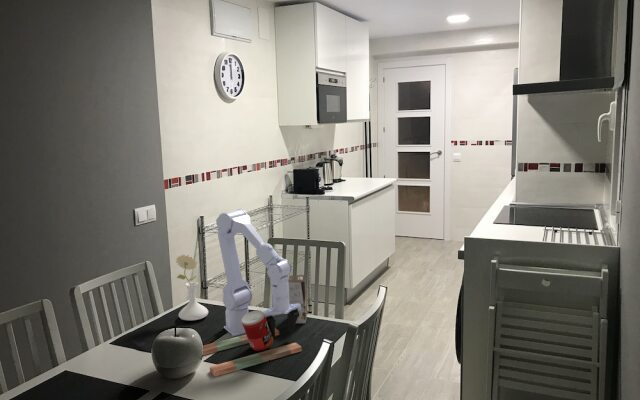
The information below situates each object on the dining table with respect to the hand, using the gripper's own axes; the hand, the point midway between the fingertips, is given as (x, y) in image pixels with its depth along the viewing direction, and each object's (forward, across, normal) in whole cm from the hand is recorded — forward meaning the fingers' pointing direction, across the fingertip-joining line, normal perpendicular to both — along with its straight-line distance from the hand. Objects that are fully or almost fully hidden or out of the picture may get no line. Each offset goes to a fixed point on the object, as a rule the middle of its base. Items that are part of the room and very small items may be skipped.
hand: (282, 333), depth 179 cm
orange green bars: (+3, -13, 0) cm, 13 cm away
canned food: (+2, -7, 0) cm, 8 cm away
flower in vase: (+3, -18, +41) cm, 45 cm away
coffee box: (+3, +15, +15) cm, 21 cm away
